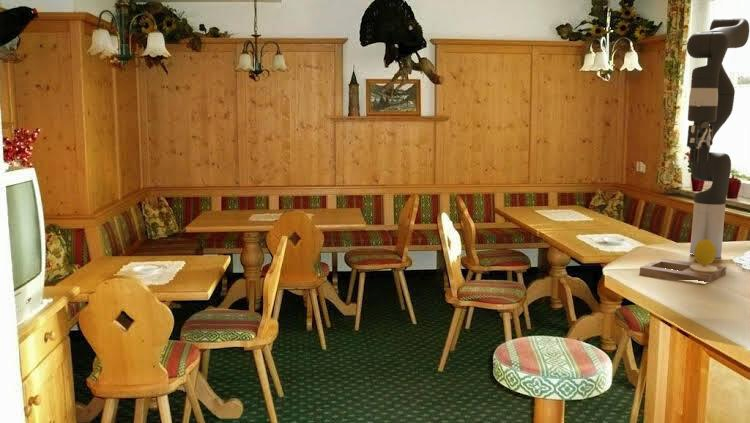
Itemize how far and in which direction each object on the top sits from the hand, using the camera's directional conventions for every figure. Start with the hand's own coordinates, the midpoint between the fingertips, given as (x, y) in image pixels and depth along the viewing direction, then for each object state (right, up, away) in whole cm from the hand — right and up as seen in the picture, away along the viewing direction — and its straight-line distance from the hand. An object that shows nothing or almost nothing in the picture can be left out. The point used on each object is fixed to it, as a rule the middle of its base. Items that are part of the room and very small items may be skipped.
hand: (698, 161), depth 214 cm
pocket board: (-4, -32, 0) cm, 33 cm away
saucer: (0, -31, -3) cm, 31 cm away
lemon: (0, -30, -2) cm, 30 cm away
